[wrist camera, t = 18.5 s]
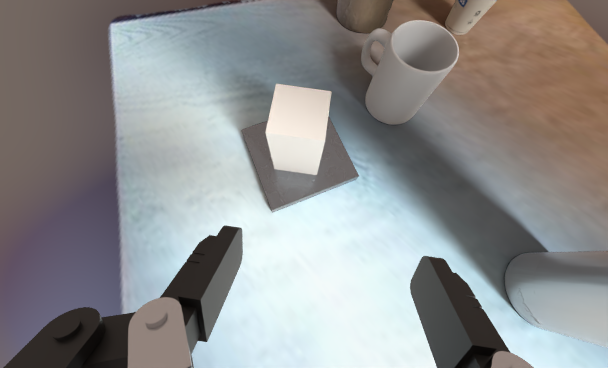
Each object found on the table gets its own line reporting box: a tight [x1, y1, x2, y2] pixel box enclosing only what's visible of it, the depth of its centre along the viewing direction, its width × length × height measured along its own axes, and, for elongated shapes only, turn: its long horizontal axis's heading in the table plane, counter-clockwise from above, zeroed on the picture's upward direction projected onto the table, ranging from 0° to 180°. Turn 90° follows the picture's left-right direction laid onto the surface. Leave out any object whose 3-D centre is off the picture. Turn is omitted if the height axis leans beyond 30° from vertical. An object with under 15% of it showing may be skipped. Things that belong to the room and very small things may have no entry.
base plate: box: [242, 116, 359, 212], centre depth 31 cm, size 13×13×8 cm
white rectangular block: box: [265, 84, 331, 175], centre depth 29 cm, size 6×6×10 cm
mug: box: [361, 20, 459, 125], centre depth 34 cm, size 12×8×11 cm
